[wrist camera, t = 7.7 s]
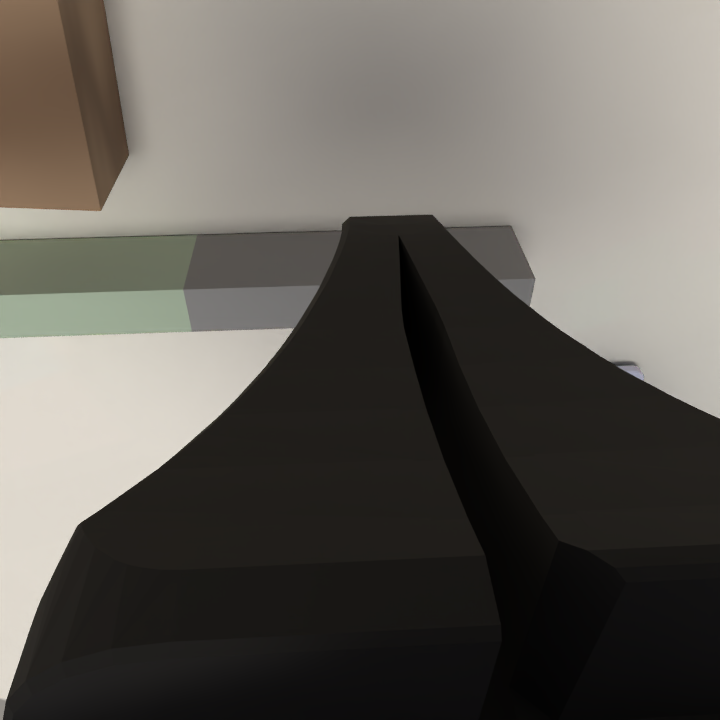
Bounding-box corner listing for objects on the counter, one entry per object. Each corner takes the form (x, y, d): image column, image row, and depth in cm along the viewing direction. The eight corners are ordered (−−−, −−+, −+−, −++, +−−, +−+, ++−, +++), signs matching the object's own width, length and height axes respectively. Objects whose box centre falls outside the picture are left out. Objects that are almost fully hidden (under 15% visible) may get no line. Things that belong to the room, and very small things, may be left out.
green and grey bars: (504, 265, 22) (526, 320, 20) (-44, 282, 21) (-87, 340, 19) (595, -269, 14) (652, -282, 11) (-313, -274, 13) (-446, -286, 11)
